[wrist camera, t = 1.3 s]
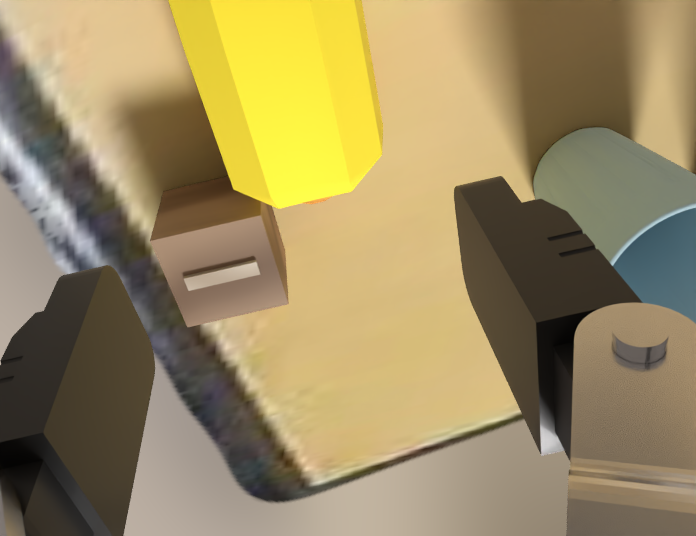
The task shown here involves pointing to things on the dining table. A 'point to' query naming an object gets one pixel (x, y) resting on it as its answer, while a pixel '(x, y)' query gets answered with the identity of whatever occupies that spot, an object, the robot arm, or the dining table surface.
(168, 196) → the walnut numbered block
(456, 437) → the dining table surface
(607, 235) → the cup
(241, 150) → the yellow banana
